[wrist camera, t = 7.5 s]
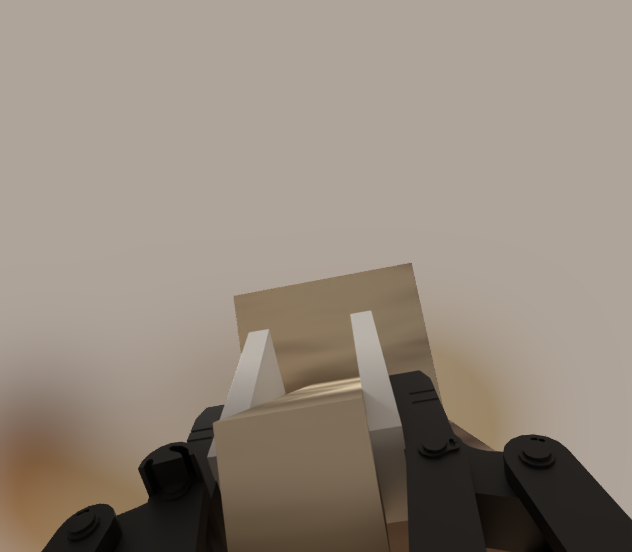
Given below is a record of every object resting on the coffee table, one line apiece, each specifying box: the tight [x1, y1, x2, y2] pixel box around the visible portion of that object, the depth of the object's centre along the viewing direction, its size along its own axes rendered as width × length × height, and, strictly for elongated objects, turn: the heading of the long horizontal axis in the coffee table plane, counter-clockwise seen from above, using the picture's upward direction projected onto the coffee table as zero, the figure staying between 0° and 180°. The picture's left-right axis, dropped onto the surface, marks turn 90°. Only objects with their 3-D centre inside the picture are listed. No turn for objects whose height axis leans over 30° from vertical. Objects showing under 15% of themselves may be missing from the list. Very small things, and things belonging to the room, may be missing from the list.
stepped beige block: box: [213, 263, 443, 552], centre depth 22 cm, size 25×11×9 cm, turn 174°
